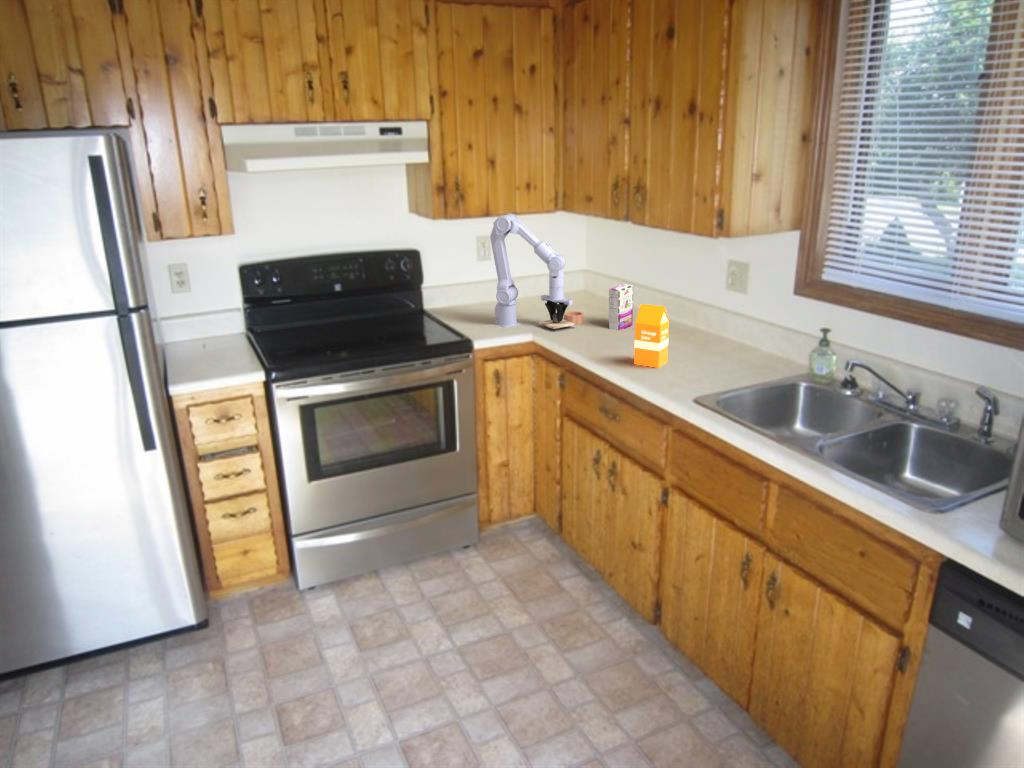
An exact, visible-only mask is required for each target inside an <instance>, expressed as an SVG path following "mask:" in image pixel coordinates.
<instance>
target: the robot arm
mask: <svg viewBox="0 0 1024 768" xmlns="http://www.w3.org/2000/svg"><path fill="white" fill-rule="evenodd" d="M509 233H510V234H515V235H520V237H522V239H524V241H526V242H527V243H528V244H529V245H530V246H531V247H533V252H534V254H536V256H537V257H538V258H539V259H541V261H542V262H544V263H545V264H546V267H547V269H548V270H549V275H548V277H549V278H548V281H549V283H548V286H549V287H548V289H549V291H548V293H549V295H545V294H543V295H540V300H541V301H542V302H544V301H545V303H544V305H545V307H546V309H547V311H548V315H549V318H550V320H553V313H557V320H558V322H560V321H562V320H564V313H565V312H566V310H567V309H568V307H569V306H572V305H573V304H574V303H573V299H570V298H567V297H565V272H564V271H565V266H566V264H567V263H566V259H565V258H564V255H562V254H559V252H557V251H555V250H554V249H553V248H552V247H551V246H550V243H549V242H546V241H540V240H539V238H538V237H537V236H536V235H535V234H534V233H533V232H532V231H531V230H530V229H529V228H528V227H527V226H526V225H525V223H524V222H523V221H522V219H520V218H519V217H517V216H516V214H514V213H506V214H505V215H500V216H498V217H497V218H496V219H495V221H494V222H493V226H492V230H491V233H490V237H489V238H490V244H491V249H492V254H493V260H494V265H495V269H496V271H495V272H496V275H497V280H498V281H497V284H496V285H497V286H496V290H497V291H496V294H495V295H496V300H497V303H496V304H495V307H494V322H493V324H495V325H497V326H500V327H503V328H511V327H515V326H521V325H522V323H520V322H518V317H517V314H518V309H517V308H518V306H517V302H518V301H517V298H518V297H519V290H518V288H517V287H516V284H515V281H514V280H513V279H512V276H511V275H512V274H511V270H510V269H511V268H510V264H509V258H508V253H507V248H506V242H505V239H506V238H507V236H508V235H509Z"/></svg>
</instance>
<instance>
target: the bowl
mask: <svg viewBox="0 0 1024 768" xmlns="http://www.w3.org/2000/svg"><path fill="white" fill-rule="evenodd" d="M563 320H566V321H569V322H572V323H574V325H581V324H584V322H585V313H584V312H583V311H576V310H575V311H565V313H564V316H563Z"/></svg>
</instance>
